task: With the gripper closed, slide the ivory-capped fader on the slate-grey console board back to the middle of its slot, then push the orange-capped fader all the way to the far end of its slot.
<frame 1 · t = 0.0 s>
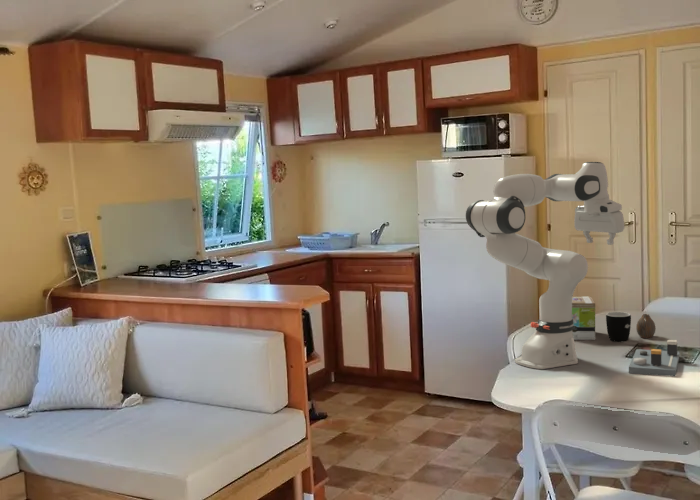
hand: (600, 243, 276), 39 cm above the table, tool pointing down, fingers open, 8 cm apart
fader orange: (656, 356, 248), point 5 cm above the table, slide at 0.0 cm
console: (654, 364, 255), on the table
mug: (620, 339, 292), on the table
vase: (645, 337, 293), on the table
tea box: (580, 336, 301), on the table
fader white: (672, 347, 259), point 5 cm above the table, slide at 14.0 cm
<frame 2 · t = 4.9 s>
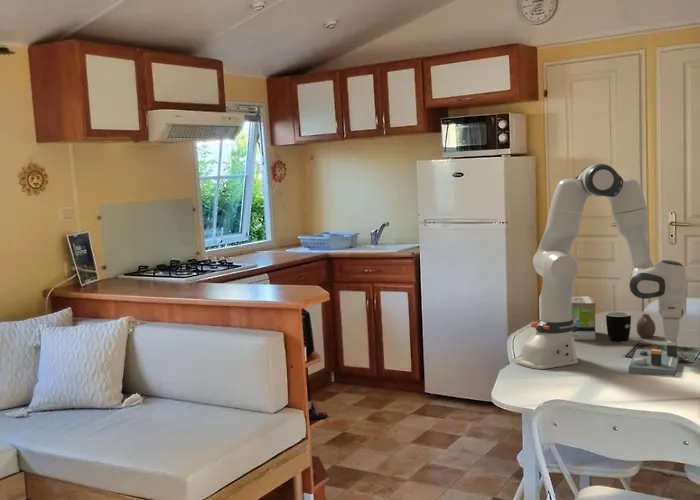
hand: (672, 347, 261), 4 cm above the table, tool pointing down, fingers closed
fader white: (672, 348, 257), point 5 cm above the table, slide at 12.7 cm, touching gripper
everything else where it was.
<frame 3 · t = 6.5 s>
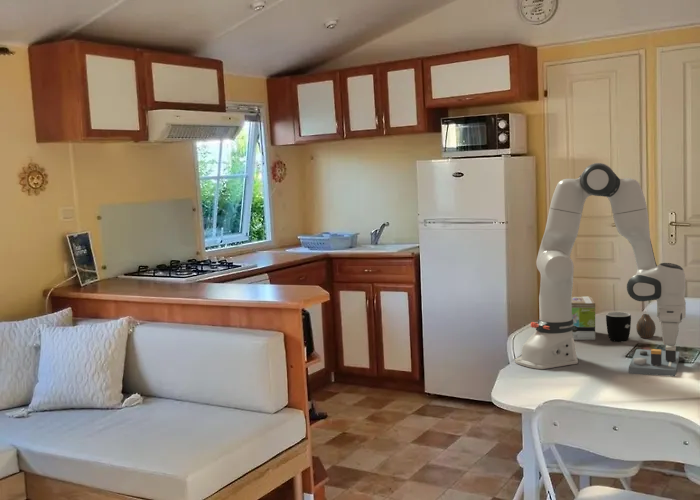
hand: (671, 352, 255), 4 cm above the table, tool pointing down, fingers closed
fader white: (670, 353, 252), point 5 cm above the table, slide at 6.0 cm, touching gripper
everything else where it was.
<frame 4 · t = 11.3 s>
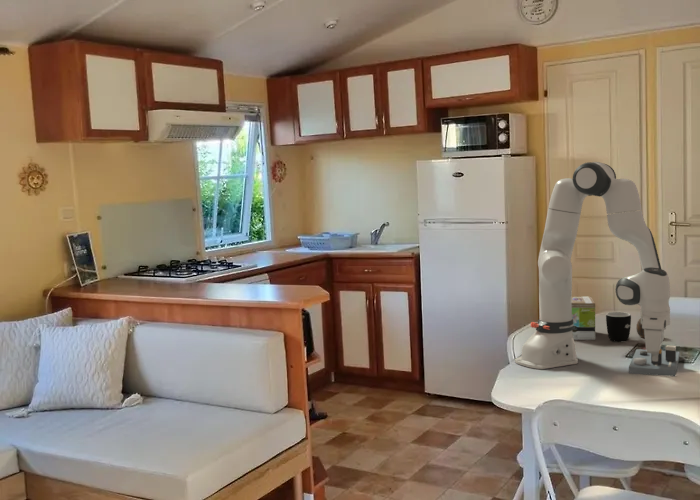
hand: (655, 360, 246), 4 cm above the table, tool pointing down, fingers closed
fader orange: (656, 356, 249), point 5 cm above the table, slide at 1.0 cm, touching gripper
fader white: (670, 353, 251), point 5 cm above the table, slide at 6.0 cm
everything else where it was.
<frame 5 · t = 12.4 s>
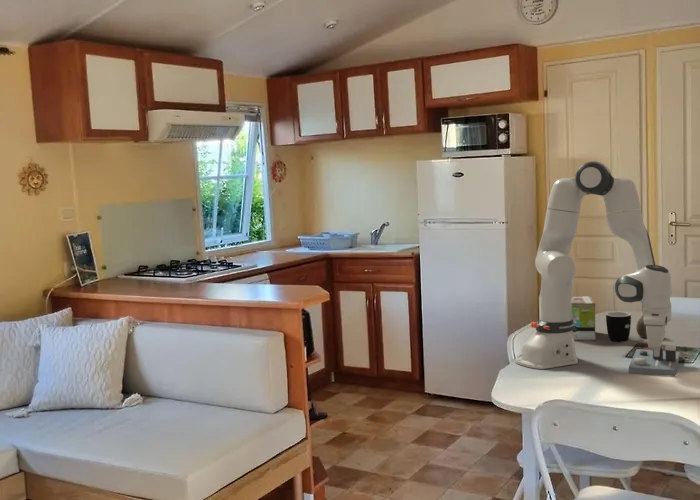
hand: (656, 355, 251), 4 cm above the table, tool pointing down, fingers closed
fader orange: (658, 351, 254), point 5 cm above the table, slide at 7.2 cm, touching gripper
everything else where it was.
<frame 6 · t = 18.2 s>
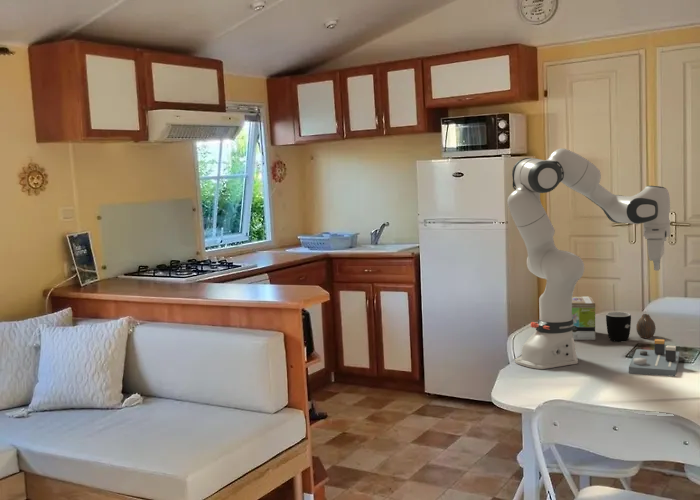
hand: (656, 269, 271), 29 cm above the table, tool pointing down, fingers closed
fader orange: (659, 346, 260), point 5 cm above the table, slide at 14.0 cm
everything else where it was.
at the end: fader orange slide at 14.0 cm; fader white slide at 6.0 cm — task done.
